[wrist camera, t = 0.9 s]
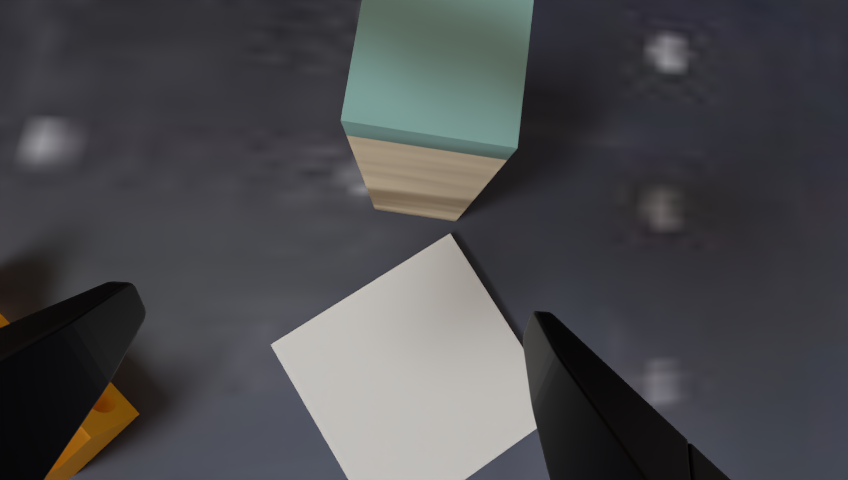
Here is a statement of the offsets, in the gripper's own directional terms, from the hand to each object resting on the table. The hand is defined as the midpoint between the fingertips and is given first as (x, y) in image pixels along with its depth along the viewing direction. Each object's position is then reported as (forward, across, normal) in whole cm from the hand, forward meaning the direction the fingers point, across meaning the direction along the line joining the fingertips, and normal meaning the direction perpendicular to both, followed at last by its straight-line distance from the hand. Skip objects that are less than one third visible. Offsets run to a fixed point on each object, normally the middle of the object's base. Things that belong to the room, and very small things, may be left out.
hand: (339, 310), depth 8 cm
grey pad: (+7, -3, +12) cm, 14 cm away
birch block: (+15, -2, +3) cm, 15 cm away
